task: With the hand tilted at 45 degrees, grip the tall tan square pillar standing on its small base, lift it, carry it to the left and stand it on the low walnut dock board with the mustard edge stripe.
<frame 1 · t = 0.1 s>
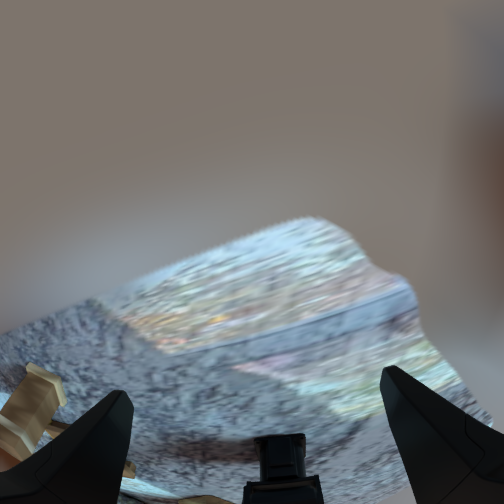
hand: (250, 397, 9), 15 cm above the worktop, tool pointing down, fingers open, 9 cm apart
dock: (93, 445, 35), on the worktop
whiskey bottle: (210, 503, 42), on the worktop
mineral rock: (139, 500, 45), on the worktop
tan square pillar: (48, 382, 29), on the worktop
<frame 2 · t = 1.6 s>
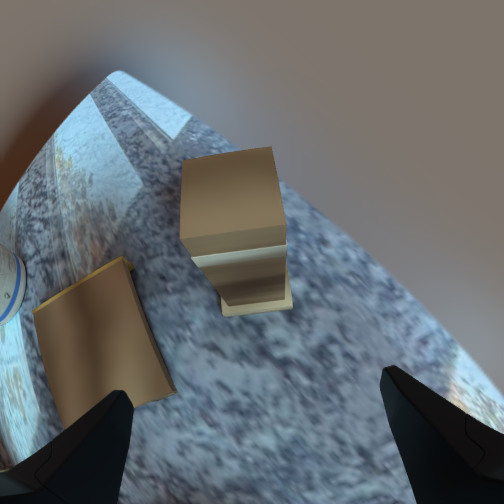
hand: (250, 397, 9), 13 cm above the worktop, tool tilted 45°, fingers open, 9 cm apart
dock: (102, 352, 23), on the worktop
tan square pillar: (254, 281, 24), on the worktop
supplement tub: (9, 290, 27), on the worktop
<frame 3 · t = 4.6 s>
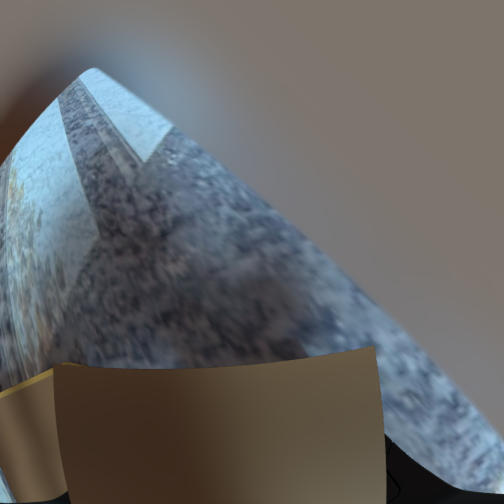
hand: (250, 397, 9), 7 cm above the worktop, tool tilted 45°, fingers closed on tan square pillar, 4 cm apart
dock: (65, 468, 13), on the worktop
tan square pillar: (265, 412, 14), on the worktop, touching gripper
when the fingers open (10 cm above the worktop, at t = 8.1 s): tan square pillar stays where it is, resting on dock.
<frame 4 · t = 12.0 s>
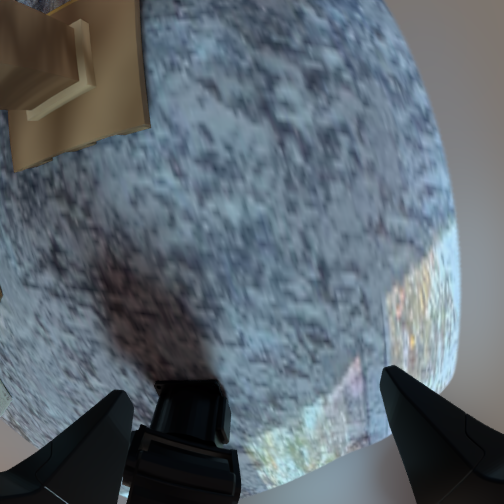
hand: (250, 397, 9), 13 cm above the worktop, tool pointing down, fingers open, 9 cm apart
dock: (78, 76, 16), on the worktop
tan square pillar: (60, 71, 14), point 2 cm above the worktop, touching dock
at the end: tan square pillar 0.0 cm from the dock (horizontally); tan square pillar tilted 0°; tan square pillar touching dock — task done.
